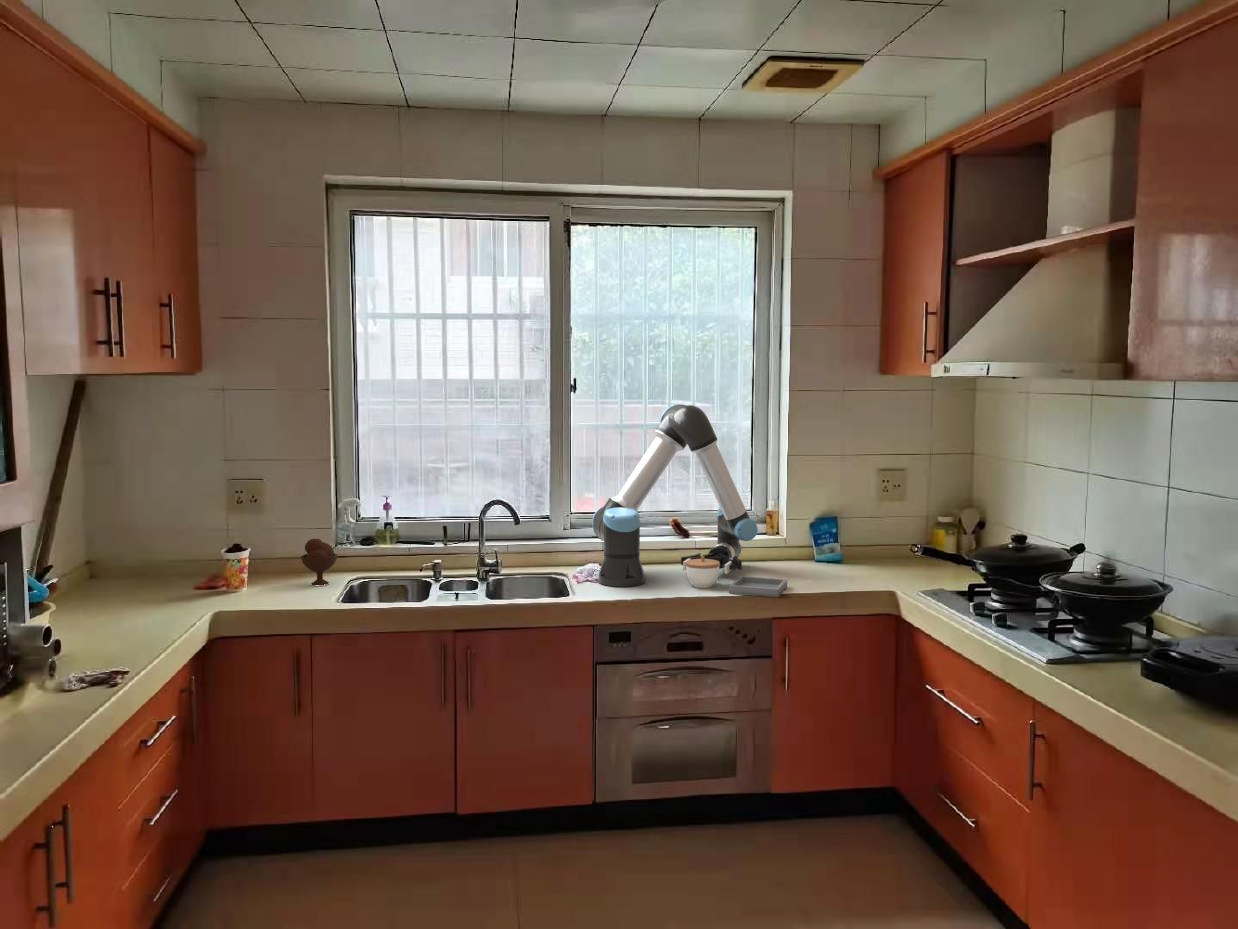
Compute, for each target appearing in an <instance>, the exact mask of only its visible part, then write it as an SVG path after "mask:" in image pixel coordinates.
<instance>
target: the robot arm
mask: <svg viewBox="0 0 1238 929" xmlns="http://www.w3.org/2000/svg"><path fill="white" fill-rule="evenodd" d="M654 434H655V438H654V439H653V441H652V443H651V444H650V446H649V447H648V449H647V450H646V451H645V453H644V454H643V456H642V457H641V459H640V460H639V461H638V463H637V465H636V466H635V468H634V469H633V470H632V472H631V473H630V475H629V476H628V478H627V479H626V481H625V483H624V484H623V485H622V487H621V489H620V490H619V491H618V493H617V494H616V495H614V496H609V498H608V499H607V501H606V503H605V504H604V505H603V506H601V507H600V508H599V509H597V510H596V511H595V512H594V514H593V516H592V520H591V521H592V522H591V526H592V530H593V532H594V534H595V535H596V537H597V539H600V540H601V541H602V542H603V560H602V563H601V566H600V569H599V572H598V576H597V577H598V581H597V582H598V583H599V584H600V585H604V586H608V587H609V586H610V587H622V588H623V587H626V588H627V587H636V586H640V585H644V584H645V582H646V574H645V571H644V568H643V565H642V562H641V557H640V552H641V551H640V550H641V549H640V548H641V547H640V546H641V540H640V538H641V537H640V536H641V535H640V534H641V519H640V513H639V509H640V507H641V505H642V504H643V502H644V501H645V500H646V498H647V497H648V495H649V494H650V492H651V491H652V489H653V487H654V486H655V485H656V483H657V482H658V480H659V479H660V477H662V475H663V473H664V471H665V470H666V469H667V467H668V465H669V464H670V462H671V461H672V459H673V458H674V457H675V455H676V453H677V452H681V451H684V450H685V448H686V447H688V448H689V450H690V452H691V453H694V454H695V457H696V458H697V461H698V463H699V464H700V466H701V469H702V472H703V473H704V476H705V477H706V480H707V481H708V484H709V487H710V489H711V490H712V492H713V495H714V497H715V499H716V501H717V504H718V506H719V507H718V508H717V516H716V519H717V542H716V543H717V544H716V545H715V546H714V547H712V548H711V549H710V550H709V552H708V553H707V554H706V553H705V554H703V555H702V553H696V554H693V555H688V556H681V557H680V565H681V566H682V571H686V561H688V560H691V559H701V557H704V559H712V560H717V561H719V562H720V566H719V570H720V569H724V574H728V573H730V572H731V571H733V570H736V569H737V570H742V566H743V563H742V561H741V560H740V559H739V556H740V555H741V553H742V544H741V543H740V541H744V542H749V541H752V540H753V539H754V538H756V536H757V534H758V528H759V527H758V525H757V523H756V522H755V521H754V520H753V519H751V517H750V516H749V513H748V512H747V509H746V507H745V504H744V502H743V501H742V498H741V496H740V494H739V492H738V489H737V487H736V485H735V482H734V480H733V478H732V476H731V473H730V471H729V469H728V467H727V464H726V462H725V461H724V458H723V456H722V454H721V452H720V449H719V447H718V445H717V442H718V437H717V435H716V433H715V430H714V429H713V426H712V424H711V421H710V420H709V418H708V416H707V414H706V413H705V412H704V410H702V409H701V408H700V407H698V406H696V405H691V404H687V405H686V404H683V403H681V404H679V403H678V404H673V405H671V406H669V407H667V408H666V409H664V411H663V412H662V414H661V416H660V421H659V424H658V425H657V427H656V429H655V431H654Z"/></svg>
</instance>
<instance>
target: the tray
mask: <svg viewBox="0 0 1238 929" xmlns="http://www.w3.org/2000/svg"><path fill="white" fill-rule="evenodd" d="M787 588H788V578H787V579H786V578H785V579H783V578H773V577H761V576H760V577H759V576H745V575H739V577H738V578H737V579H735V580H734V581H733V582H732V583H730V584H729V587H728V593H730V594H729V595H741V596H754V597H763V598H765V597H766V598H774V599H775V598H777V599H778V598H779V597H781V595H782V594H783V593H784V592H783V591H786V590H787ZM782 592H783V593H782Z"/></svg>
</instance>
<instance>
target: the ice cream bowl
mask: <svg viewBox="0 0 1238 929" xmlns="http://www.w3.org/2000/svg"><path fill="white" fill-rule="evenodd" d="M304 551H305V552H306V553H304V554H303V555H301V556H300V559H301V563H302V564H303V565H304V567H306V568H307V569H309V570H310V571H312V572H313V573H315V574H316V579H315V580H314V581H312V582H311V584H312V585H324V584H328V583H329V584H330V582H329V581H327V580H326V579H323V578H324V576H323V575H324V572H326V571H328V570H329V569H330V568H332V567H333V566H334V565H335V563H336V562H337V559H338V553H335V552H334V548H333V547H332V545H330V544H329V543H327V542H325V541H322V539H320V538H311V539H309V540H307V541H306V543H305V545H304ZM311 584H310V585H311ZM329 584H328V585H329ZM312 585H311V586H312Z"/></svg>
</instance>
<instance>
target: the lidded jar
mask: <svg viewBox="0 0 1238 929" xmlns="http://www.w3.org/2000/svg"><path fill="white" fill-rule="evenodd" d="M719 566H720V562H719V561H717V560H712V559H704V557H701V559H691V560H688V561H686V570H685V571H686V575H687V579H688V581H689V582H690V584H692V587H694V588H696V589H697V588H699V589H710V588H712V587H713V586H714V585H715V583H716V582H717V581H718V578H719V575H720V569H719Z"/></svg>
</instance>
